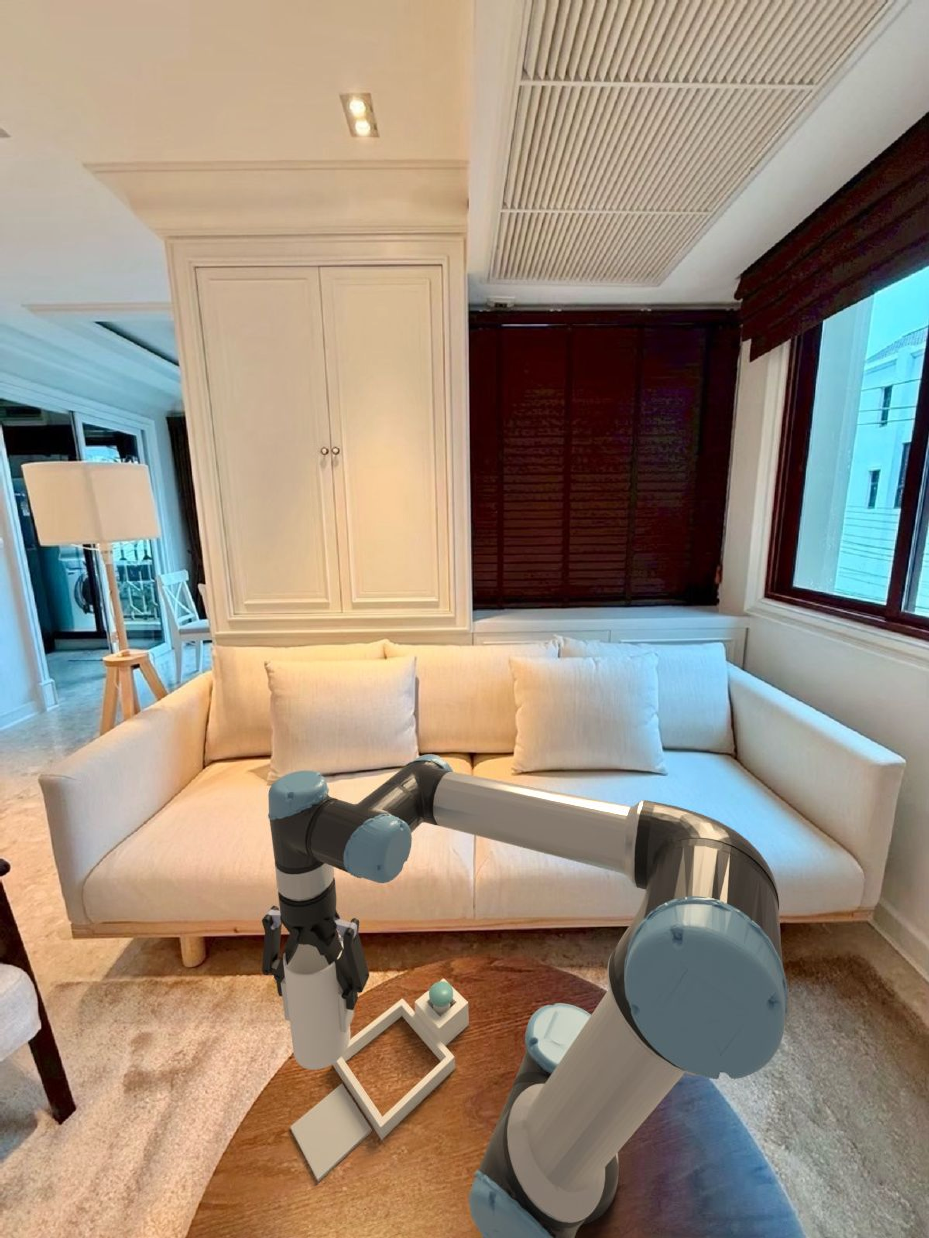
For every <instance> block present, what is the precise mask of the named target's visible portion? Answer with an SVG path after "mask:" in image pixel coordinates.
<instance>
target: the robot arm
mask: <svg viewBox="0 0 929 1238" xmlns="http://www.w3.org/2000/svg"><path fill="white" fill-rule="evenodd" d="M329 790H330V789H329V787H328V784H327V779H326V778H325V777H324V776H323V774H322V773H320V772H319V771H318V772H317V771H314V770H297V771H293V772H290V773H287V774H285V775H283V776H282V777H280V778H278V779H276V780H275V781H274V782H273V783H272V784H271V786H270V788H269V790H268V795H267V796H268V797H267V798H268V814H267V818H268V820H269V825H270V832H271V833H270V834H271V842H272V850H273V858H274V869H275V879H276V888H277V891H278V892H277V897H278V906H276V905H272V906H271V907H270V908H269V910H268V911H267V912H266V914H265V915H264V916H263V918H262V919H261V923H262V926H263V931H264V937H263V938H264V941H263V942H264V943H263V952H262V953H263V954H262V966H261V972H262V974H263V975H264V976H269V975H272V976H273V979H274V981H275V982H276V988H277V994H278V996H279V997H282V1004H283V1005H282V1006H283V1014H284V1021H287V1022H288V1021H289V1022H290V1018H289V1009H288V1000H287V991H286V982H285V973H284V964H283V956H284V953H285V954H286V961H287V965H288V964H289V962H290V961H291V959H292V957H293V956H294V954H295V952H296V950H297V947H298V945H299V944H302V945H307V944H309V945H311V946H314V947H316V948H317V950H318V951H319V953H320V955H321V956H322V955H324V956H325V958H326V960H327V962H328V964H329V965H330V964H331V963H333V962H335V968H336V979H337V981H338V983H339V984H340V986H341V990H340V991H339V993H338V999H339V1010H340V1022H341V1032H345V1033H346V1032H347V1030H348V1028H349V1025H350V1026H351V1024H352V1021H353V1019H354V1017H355V1009H354V1008H355V1006H356V1005H357V1002H358V1000H359V994H360V993H363V990H364V988H365V987H366V985H367V982H368V980H369V977H370V973H369V972H370V971H369V968H368V964H367V961H366V958H365V957H366V956H365V954H364V948H363V945H362V942H361V938H360V935H359V931H360V921H359V919H358V918H356V917H354V918H352V919H351V920H350V921H347V920H344V919H341V916H340V915H339V913H338V911H337V889H336V888H337V887H336V879H335V868H336V869H338V870H340V871H343V872H345V873H348V874H350V875H351V876H352V877H355V878H357V879H364V880H368V881H371V882H375V883H376V884H377V883H378V884H385V883H386V884H387V883H389V882H391V881H393V880H395V879H396V878H397V877H398V876H399V874H401V872H402V871H403V869H404V864H405V863H406V862H407V861H408V859H409V857H410V853H411V848H412V842H413V841H412V840H413V839H412V838H413V836H412V834H413V832H414V831H415V830H416V829H417V828H418V827H420V825H421V824H423V823H426V824H430V825H433V826H437V827H441V828H446V829H450V830H452V831H458V832H460V833H464V834H465V833H466V834H468V835H472V836H477V837H480V838H484V839H488V840H492V841H496V842H500V843H503V844H507V845H510V846H511V845H512V846H514V847H519V848H522V849H527V850H530V851H534V852H538V853H542V854H545V855H550V856H554V857H557V858H562V859H565V860H569V861H573V862H577V863H581V864H584V865H588V866H592V867H596V868H599V869H603V870H606V871H607V870H608V871H611V872H615V873H617V874H618V873H619V874H623V875H625V876H626V877H627V879H628V880H629V882H630V883H631V884H632V885H633V887H634V888H638V889H641V890H644V896H643V899H642V901H641V903H640V907H639V909H638V910H637V913H636V915H635V916H634V918H632V921H631V923H629V926H627V929H626V930H625V932H624V933H623V935H622V937H621V938H620V939H619V941H618V943H617V944H616V946H615V948H614V949H613V950H612V952H611V954H610V956H609V959H608V962H607V972H606V973H607V984H608V987H609V989H607V991H606V993H605V994H604V996H603V997H602V999H601V1000H600V1002H599V1003H598V1005H596V1008H595V1009H594V1011H592V1013H591V1014H590V1013H589V1012H588V1011H586V1010H584V1009H583V1008H581V1007H578V1006H576V1005H573V1004H568V1003H562V1002H557V1003H556V1002H555V1003H554V1004H553V1005H551V1004H547V1005H544V1006H541V1007H540V1008H538V1009H537V1010H536V1011H535V1012H534V1013H533V1014H532V1015H531V1016H530V1018H529V1020H528V1023H527V1026H526V1031H525V1033H524V1034H525V1035H524V1044H525V1051H524V1052H525V1053H524V1055H523V1059H522V1062H521V1064H520V1066H519V1069H518V1072H517V1074H516V1076H515V1079H514V1082H513V1085H512V1087H511V1089H510V1090H509V1093H508V1096H507V1098H506V1101H505V1103H504V1106H503V1108H502V1111H501V1113H500V1116H499V1118H498V1119H497V1120H498V1121H497V1123H496V1125H495V1127H494V1130H493V1132H492V1135H491V1136H490V1140H489V1142H488V1144H487V1147H486V1150H485V1152H484V1154H483V1157H482V1159H481V1162H480V1165H479V1166H478V1169H476V1170H475V1172H474V1180H473V1183H472V1186H471V1188H470V1191H469V1196H468V1205H469V1206H468V1207H469V1212H470V1215H471V1217H472V1221H473V1223H474V1224H475V1226H476V1228H477V1230H478V1232H479V1233H480V1236H482V1238H575V1237H576V1234H577V1232H578V1231H579V1228H580V1227H581V1226H583V1225H586V1224H590V1223H592V1222H595V1221H596V1220H597V1219H599V1218H600V1217H601V1216H603V1215H604V1214H605V1212H607V1210H608V1208H609V1207H610V1206H611V1205H612V1204H613V1203H612V1202H613V1201H614V1198H615V1195H616V1193H617V1188H618V1186H619V1185H618V1183H619V1172H620V1171H619V1170H620V1169H619V1168H620V1159H619V1151H620V1150H621V1149H622V1148H623V1146H624V1145H625V1144H626V1143H627V1142H628V1141H629V1139H630V1138H631V1137H632V1136H633V1134H634V1133H635V1132H636V1131H637V1130H638V1129H639V1128H640V1127H641V1125H642V1124H643V1123H644V1122H645V1120H646V1119H647V1118H648V1117H649V1116H650V1115H651V1114H652V1112H653V1111H654V1110H655V1109H656V1107H657V1106H659V1104H660V1103H661V1102H662V1100H664V1098H665V1097H666V1096H667V1095H668V1093H669V1092H670V1091H671V1090H672V1089H673V1087H674V1086H675V1085H676V1084H677V1083H678V1082H679V1081H680V1080H681V1078H682V1076H684V1074H687V1075H691V1076H700V1077H703V1078H707V1079H713V1080H718V1079H719V1078H720V1073H723V1074H726V1075H728V1077H729V1079H733V1080H735V1079H738V1080H739V1079H742V1078H745V1077H748V1076H751V1075H753V1074H755V1073H757V1072H759V1071H760V1070H762V1069H763V1068H764V1067H766V1065H767V1064H769V1063H770V1062H771V1060H772V1059H773V1057H775V1055H776V1054H777V1051H778V1050H779V1048H780V1045H781V1043H782V1039H783V1036H784V1032H785V1024H786V1023H785V1021H786V1016H787V1011H788V999H789V998H788V985H787V979H786V974H785V971H784V965H783V954H782V944H781V943H782V941H781V940H782V939H781V927H780V926H781V925H780V912H779V911H780V898H779V891H778V885H777V882H776V880H775V877H774V874H773V872H772V870H771V868H770V865H768V862H767V861H766V859H765V858H764V857H763V855H762V854H761V852H760V851H759V850H758V849H757V848H756V847H755V846H754V845H753V844H752V843H751V842H750V841H749V840H748V839H747V838H745V837H744V836H743V835H742V834H740V833H739V832H738V831H736V830H735V829H733V828H732V827H729V826H728V825H726V824H724V823H723V822H721V821H719V820H716V819H714V818H712V817H709V816H707V815H705V814H702V813H698V812H696V811H692V810H690V809H686V808H683V807H680V806H677V805H671V804H667V803H661V802H657V801H651V800H646V799H641V800H640V801H639V802H637V803H636V804H635V805H633V806H631V805H626V804H621V803H614V802H609V801H605V800H600V799H594V798H589V797H584V796H579V795H575V794H569V793H563V792H558V791H554V790H550V789H549V790H548V789H543V788H537V787H532V786H529V785H523V784H518V783H511V782H507V781H503V780H496V779H492V778H486V777H482V776H477V775H471V774H466V773H461V772H456V771H454V769H453V768H452V767H451V765H450V763H448V761H446V760H444V759H442V758H441V757H440V756H439V755H436V754H432V753H430V754H429V753H428V754H427V753H426V754H424V755H421V756H418V757H417V758H416V759H414V760H411V761H409V762H408V763H406V765H404V766H403V767H402V768H401V769H400V770H398V772H395V774H394V775H392V776H391V777H389V779H387V780H386V781H385V782H384V783H382V784H381V785H380V786H379V787H377V788H376V789H375V790H374V791H372V792H371V793H369V794H368V795H367V796H366V797H365V798H363V799H362V800H361V801H359V802H357V803H351V802H348V801H346V800H345V801H344V800H341V799H339V798H336V797H332V796H331V795H329V792H330V791H329ZM282 926H283V927H284V928H285V929H286V930H287V932H288V933H289V936H288V938H287V941H286V943H285V948H284V950H283V952H282V955H281V957H280V947H281V940H282V939H281V935H282ZM339 935H340V936H341V938H340V940H341V941H343V947H342V945H341V943H340V941H339ZM343 948H344V949H343ZM341 951H342V953H341V956H340V958H339V959H337V958H338V956H339V954H340V952H341ZM279 957H280V958H279Z"/></svg>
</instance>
